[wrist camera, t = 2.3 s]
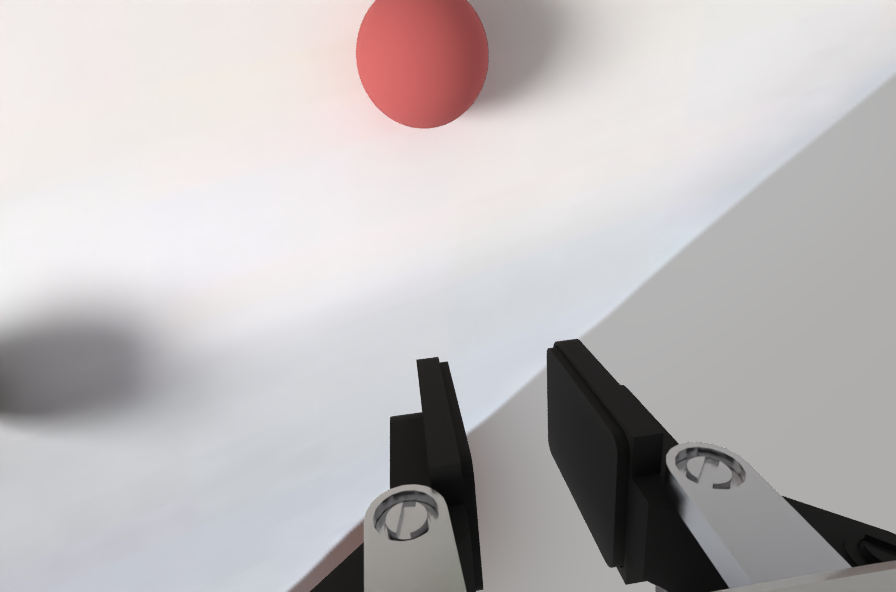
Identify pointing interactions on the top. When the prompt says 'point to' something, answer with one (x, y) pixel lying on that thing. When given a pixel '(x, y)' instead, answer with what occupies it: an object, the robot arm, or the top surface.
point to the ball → (422, 59)
